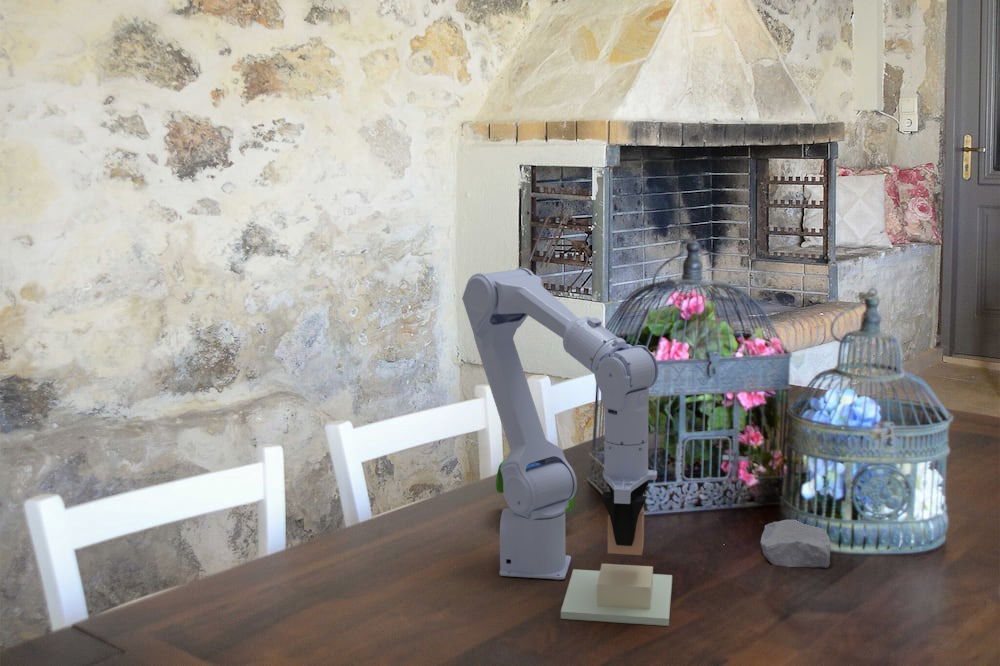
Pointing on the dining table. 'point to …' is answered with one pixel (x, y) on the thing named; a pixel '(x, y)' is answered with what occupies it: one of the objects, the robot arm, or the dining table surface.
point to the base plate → (592, 612)
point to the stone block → (795, 544)
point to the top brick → (637, 543)
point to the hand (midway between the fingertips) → (625, 537)
